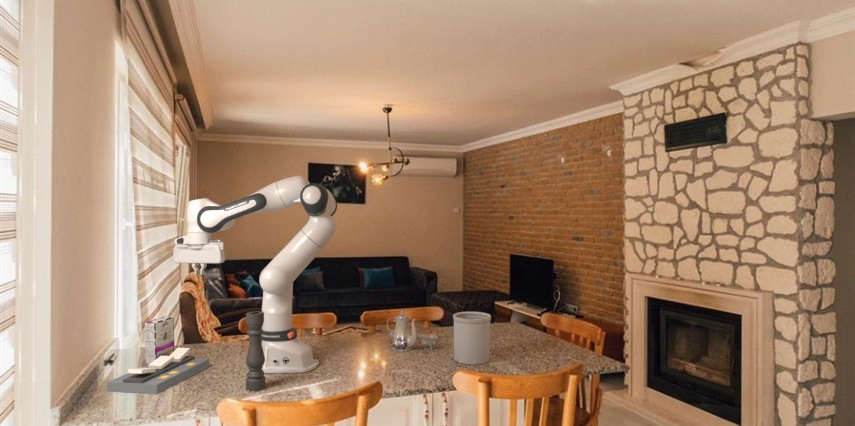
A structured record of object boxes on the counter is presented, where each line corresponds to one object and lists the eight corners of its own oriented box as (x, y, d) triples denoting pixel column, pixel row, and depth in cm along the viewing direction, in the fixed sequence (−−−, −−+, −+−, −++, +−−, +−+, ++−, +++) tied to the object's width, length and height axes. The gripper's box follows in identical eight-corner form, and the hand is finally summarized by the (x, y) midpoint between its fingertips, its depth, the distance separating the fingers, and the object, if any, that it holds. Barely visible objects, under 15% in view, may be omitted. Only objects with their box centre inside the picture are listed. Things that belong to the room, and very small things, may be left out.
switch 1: (155, 371, 183) (155, 368, 183) (141, 373, 176) (142, 369, 177) (142, 371, 184) (142, 367, 184) (127, 373, 177) (128, 369, 177)
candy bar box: (164, 356, 218) (163, 315, 218) (175, 357, 217) (174, 316, 217) (144, 364, 207) (143, 321, 207) (155, 365, 206) (155, 322, 206)
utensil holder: (496, 357, 215) (495, 313, 215) (483, 367, 201) (483, 320, 201) (461, 353, 221) (461, 310, 221) (447, 362, 208) (447, 317, 207)
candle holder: (248, 385, 182) (247, 311, 182) (267, 385, 182) (266, 311, 182) (243, 391, 176) (243, 315, 175) (263, 391, 176) (262, 314, 176)
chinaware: (444, 351, 230) (446, 311, 231) (423, 356, 216) (425, 314, 217) (391, 342, 245) (393, 305, 246) (368, 347, 231) (370, 307, 232)
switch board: (209, 366, 203) (209, 356, 203) (156, 394, 174) (156, 381, 174) (165, 364, 206) (165, 354, 206) (106, 391, 177) (106, 379, 177)
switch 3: (190, 350, 203) (190, 348, 202) (179, 361, 196) (179, 359, 196) (178, 350, 204) (177, 347, 203) (167, 361, 197) (166, 358, 197)
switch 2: (174, 359, 193) (173, 356, 193) (161, 369, 186) (161, 365, 186) (161, 358, 194) (160, 355, 194) (148, 368, 187) (148, 365, 187)
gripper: (227, 238, 213) (228, 274, 213) (180, 238, 216) (180, 273, 216) (219, 239, 207) (219, 276, 207) (170, 239, 210) (170, 275, 210)
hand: (199, 274), depth 211 cm, fingers closed
